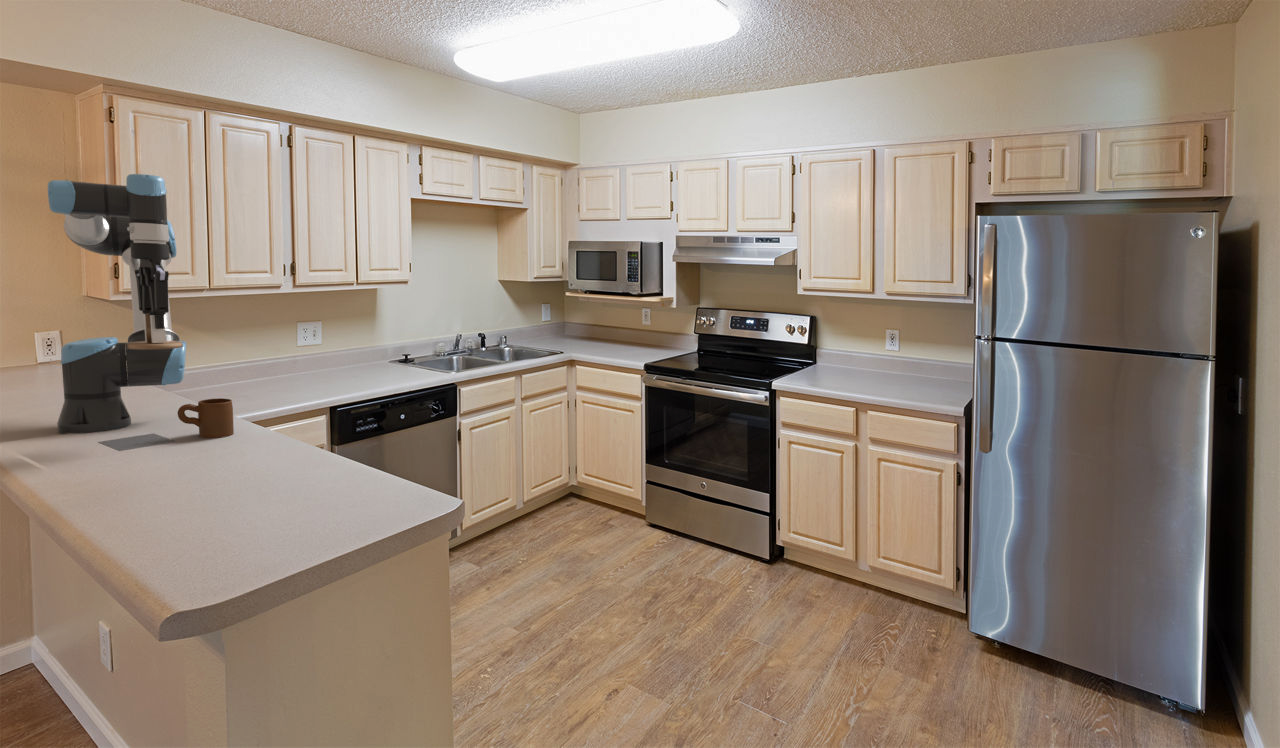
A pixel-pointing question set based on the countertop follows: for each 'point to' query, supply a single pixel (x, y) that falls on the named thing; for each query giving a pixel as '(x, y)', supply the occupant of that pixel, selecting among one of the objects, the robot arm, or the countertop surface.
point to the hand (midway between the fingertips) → (155, 341)
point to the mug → (210, 417)
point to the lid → (149, 345)
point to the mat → (136, 442)
